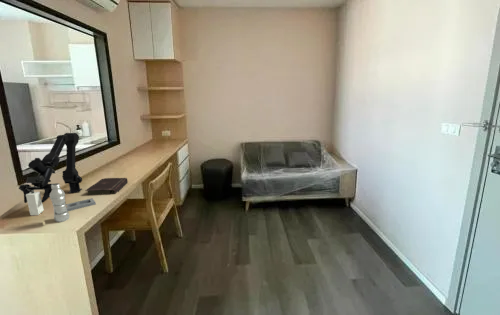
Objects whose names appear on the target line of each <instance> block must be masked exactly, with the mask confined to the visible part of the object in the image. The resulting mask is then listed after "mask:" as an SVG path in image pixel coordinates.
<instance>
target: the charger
mask: <svg viewBox="0 0 500 315" xmlns="http://www.w3.org/2000/svg"><path fill="white" fill-rule="evenodd" d="M26 198H27V206H28V210H29V215H30V216H40V215H41V214H40V213H42V214H43V211H44V210H45V209H44V204H43V203H42V202H41V201H42V196H41V192H40V191H35V190H31V192H30V193H28V194H26ZM39 214H40V215H39Z"/></svg>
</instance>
